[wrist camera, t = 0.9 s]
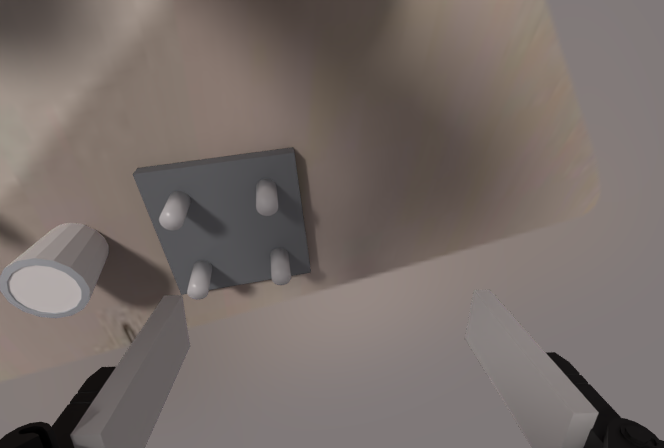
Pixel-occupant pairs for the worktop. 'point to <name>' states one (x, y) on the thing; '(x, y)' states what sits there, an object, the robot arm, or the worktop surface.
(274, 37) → the worktop surface
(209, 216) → the pin plate
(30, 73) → the worktop surface
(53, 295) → the shot glass
